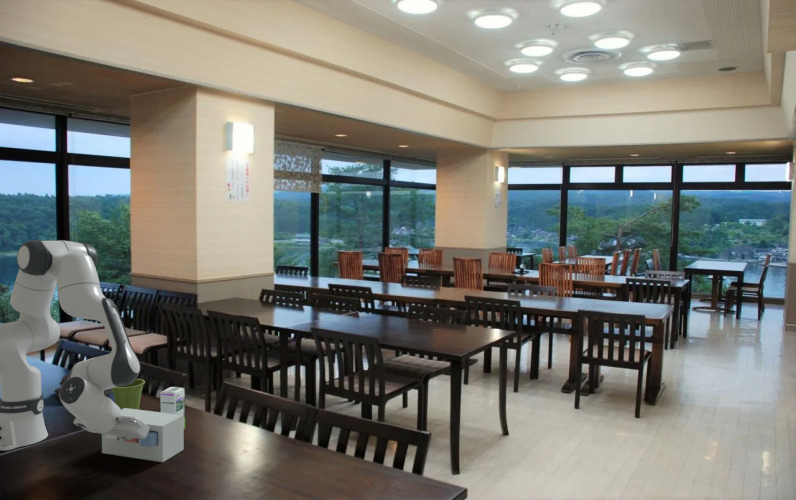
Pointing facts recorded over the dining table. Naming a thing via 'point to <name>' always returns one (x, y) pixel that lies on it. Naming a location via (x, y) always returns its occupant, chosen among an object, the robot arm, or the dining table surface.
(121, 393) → the plant pot
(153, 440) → the blue key
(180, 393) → the syrup box
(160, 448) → the key console
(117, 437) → the white key
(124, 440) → the red key
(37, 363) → the dining table surface
